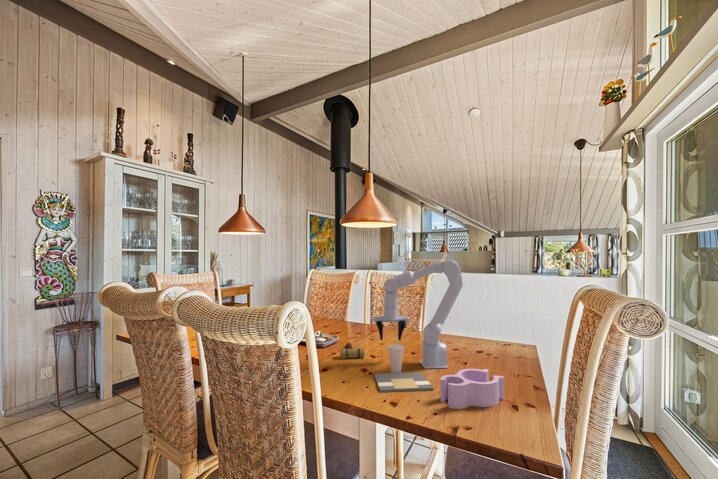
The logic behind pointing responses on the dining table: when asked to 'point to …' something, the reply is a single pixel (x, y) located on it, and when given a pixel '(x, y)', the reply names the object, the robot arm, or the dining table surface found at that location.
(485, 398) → the clip
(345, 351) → the gavel
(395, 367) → the smoothie
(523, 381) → the dining table surface
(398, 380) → the board
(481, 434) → the dining table surface
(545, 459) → the dining table surface
